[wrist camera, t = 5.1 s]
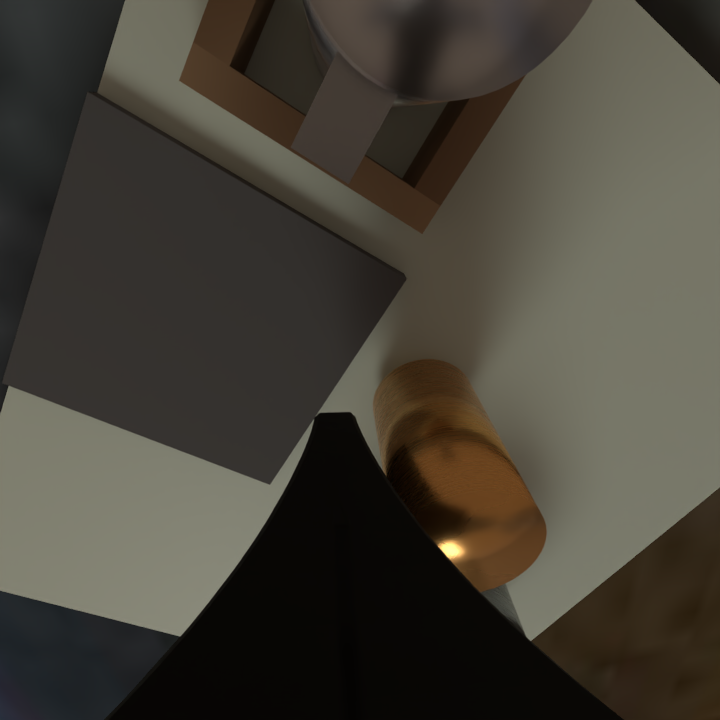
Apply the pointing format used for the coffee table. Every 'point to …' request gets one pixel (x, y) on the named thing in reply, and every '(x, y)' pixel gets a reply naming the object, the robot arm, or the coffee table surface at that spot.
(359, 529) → the robot arm
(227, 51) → the frame
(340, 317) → the rubber pad
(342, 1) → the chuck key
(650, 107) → the board
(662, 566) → the coffee table surface
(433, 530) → the lever
